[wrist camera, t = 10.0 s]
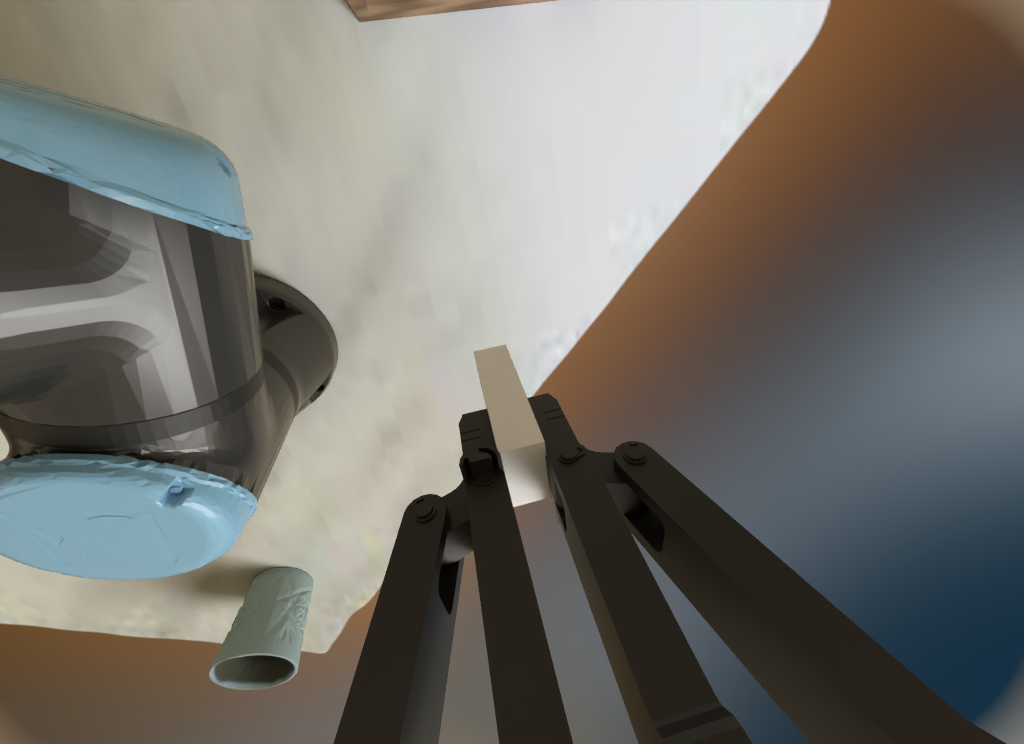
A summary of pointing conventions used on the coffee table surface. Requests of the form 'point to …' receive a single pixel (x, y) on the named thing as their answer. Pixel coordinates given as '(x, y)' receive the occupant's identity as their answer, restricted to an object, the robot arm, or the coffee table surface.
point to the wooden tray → (422, 7)
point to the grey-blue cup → (266, 632)
